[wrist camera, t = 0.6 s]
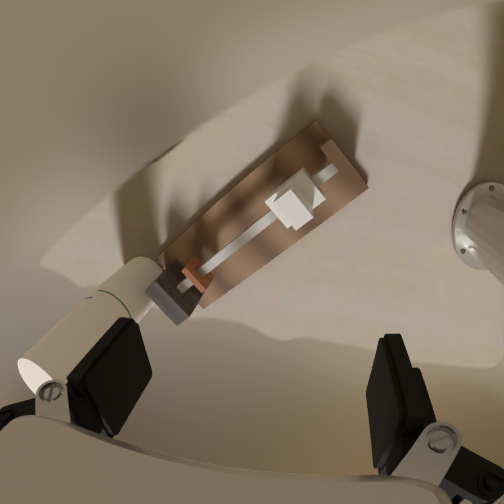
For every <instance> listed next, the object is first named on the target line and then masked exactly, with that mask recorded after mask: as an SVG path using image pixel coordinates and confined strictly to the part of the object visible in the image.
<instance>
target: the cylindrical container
mask: <svg viewBox="0 0 504 504" xmlns="http://www.w3.org/2000/svg"><path fill="white" fill-rule="evenodd" d="M162 272H163V271H162V269H161V268H160V267H159V265H158V264H157V263H155V262H154V261H153V260H151V259H149V258H146V257H135V258H133V259H132V260H130V261H129V262H128V263H127V264H125V265H124V266H123V267H122V268H120V269H119V270H118V271H117V272H116V273H114V274H113V275H112V276H111V277H110V278H108V279H107V280H106V281H105V282H104V283H102V284H101V285H100V286H99V287H98V288H97V289H95V291H93V292H92V293H91V294H90V295H89V296H87V297H86V298H85V299H84V300H83V301H82V302H81V303H80V304H78V305H77V306H76V307H75V308H74V309H73V310H72V311H70V312H69V313H68V314H67V315H66V316H65V317H64V318H62V320H60V321H59V322H58V323H57V324H56V325H55V326H54V327H53V328H52V329H50V330H49V331H48V332H47V333H46V334H45V335H44V336H43V337H42V338H41V339H40V340H39V341H38V342H37V343H36V344H34V346H33V347H31V348H30V349H29V350H28V351H27V352H26V353H25V354H24V355H23V356H22V357H21V358H20V359H19V360H18V368H19V371H20V374H21V376H22V378H23V379H24V381H25V383H26V384H27V385H28V386H29V388H30V389H31V390H32V391H33V392H34V394H35V395H36V391H37V389H38V388H39V387H40V386H41V385H42V384H43V383H44V382H46V381H49V380H54V379H57V380H61V381H63V382H64V383H65V384H66V383H67V382H68V380H67V378H66V377H67V376H68V375H69V374H70V372H71V371H72V370H73V369H74V368H75V367H76V365H77V364H78V363H79V362H80V361H81V360H82V359H83V357H84V356H85V355H86V354H87V353H88V352H89V351H90V349H91V348H92V347H93V346H94V345H95V344H96V343H97V341H98V340H99V339H100V338H101V337H102V336H103V335H104V334H105V332H106V331H107V330H108V329H109V328H110V327H111V326H112V325H113V324H114V323H115V321H116V320H117V319H118V318H119V317H126V318H132V319H134V320H135V322H136V323H138V322H139V321H140V320H141V319H142V317H143V316H144V315H145V314H146V312H147V311H148V310H149V309H150V308H151V307H152V305H153V304H154V302H153V300H152V299H151V298H150V297H149V296H148V295H147V294H146V293H145V292H144V291H145V290H146V289H147V288H148V287H149V286H150V285H151V283H152V282H153V281H154V280H155V279H156V278H157V277H158V276H159V275H160V274H161V273H162Z"/></svg>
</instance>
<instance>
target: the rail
mask: <svg viewBox="0 0 504 504" xmlns="http://www.w3.org/2000/svg"><path fill="white" fill-rule="evenodd" d="M303 167H304V168H305V170H306V171H307V172H308V173H309V174H310V176H311V178H310V179H311V180H312V182H313V183H314V184H315V185H316V186H317V188H318V187H320V188H321V189H322V191H323V192H324V194H325V198H326V200H324V201H323V202H322V203H320V204H319V205H318V206H316V207H315V208H314V209H313V218H312V219H311V220H310V221H308V222H307V223H306V224H304V225H303V226H302V227H300V228H299V229H298V230H295V229H294V228H293V227H292V225H291V226H290V227H289V228H286V227H285V225H284V224H283V223H282V222H281V221H280V220H279V218H278V217H277V216H276V215H275V214H274V212H273V211H272V210H271V209H270V208H269V207H268V205H267V204H266V203H265V200H266V199H267V197H268V195H269V194H270V193H272V192H273V191H274V190H275V189H277V188H278V187H279V186H280V185H282V184H283V183H284V182H285V181H287V180H288V179H289V178H290V177H292V176H293V175H294V174H295V173H297V172H298V171H299V170H300V169H302V168H303ZM368 188H369V187H368V186H367V184H366V183H365V182H364V180H363V179H362V178H361V176H360V175H359V174H358V172H357V171H356V170H355V168H354V167H353V166H352V164H351V163H350V162H349V160H348V159H347V158H346V157H345V155H344V154H343V153H342V151H341V150H340V149H339V148H338V146H337V145H336V144H335V143H334V141H333V140H332V139H331V138H330V136H329V135H328V134H327V133H326V132H325V130H324V129H323V128H322V127H321V126H320V124H319V123H318V122H317V121H316V120H315V121H314V122H312V123H311V124H310V125H309V126H307V127H306V128H305V129H304V130H302V131H301V132H300V133H299V134H297V135H296V136H295V137H294V138H292V139H291V140H290V141H289V142H287V143H286V144H285V145H284V146H282V147H281V148H280V149H279V150H278V151H276V152H275V153H274V154H273V155H272V156H270V157H269V158H268V159H267V160H266V161H264V162H263V163H262V164H261V165H260V166H258V167H257V168H256V169H255V170H254V171H252V172H251V173H250V174H249V175H248V176H247V177H245V178H244V179H243V180H242V181H241V182H240V183H238V184H237V185H236V186H235V187H234V188H233V189H232V190H230V191H229V192H228V193H227V194H226V195H225V196H224V197H222V198H221V199H220V200H219V201H218V202H217V203H216V204H214V205H213V206H212V207H211V208H210V209H209V210H208V211H207V212H206V213H204V214H203V215H202V216H201V217H200V218H199V219H198V220H197V221H196V222H195V223H193V224H192V225H191V226H190V227H189V228H188V229H187V230H186V231H185V232H184V233H183V234H181V235H180V236H179V237H178V238H177V239H176V240H175V241H174V242H173V243H172V244H171V245H170V246H169V247H168V248H166V249H165V250H164V251H163V252H162V253H161V254H160V255H159V256H158V257H157V258H156V259H157V260H158V261H159V262H160V263H161V264H162V265H163V266H164V267H165V270H164V271H163V272H162V273H161V274H160V275H159V276H158V277H157V278H156V279H155V280H154V281H153V282H152V283H151V285H150V286H149V287H148V288H147V289H146V290H145V291H144V292H145V293H146V294H147V295H148V296H149V297H150V298H151V299H152V300H153V302H154V303H155V304H156V305H157V306H158V307H159V308H160V309H161V310H162V311H163V312H164V313H165V314H166V315H167V316H168V317H169V318H170V319H171V320H172V321H173V322H174V323H175V324H176V325H179V324H180V323H181V322H183V321H184V320H186V319H187V318H189V317H190V315H191V313H192V312H193V310H194V309H195V307H196V305H197V304H199V305H200V306H201V307H202V308H203V309H204V308H206V307H207V306H209V305H210V304H211V303H213V302H214V301H216V300H217V299H218V298H220V297H221V296H223V295H224V294H225V293H227V292H228V291H229V290H231V289H232V288H234V287H235V286H236V285H238V284H239V283H241V282H242V281H243V280H245V279H246V278H247V277H249V276H250V275H252V274H253V273H254V272H256V271H257V270H259V269H260V268H261V267H263V266H264V265H265V264H267V263H268V262H270V261H271V260H272V259H274V258H275V257H276V256H278V255H279V254H280V253H282V252H283V251H285V250H286V249H287V248H289V247H290V246H291V245H293V244H294V243H295V242H297V241H298V240H300V239H301V238H302V237H304V236H305V235H306V234H308V233H309V232H310V231H312V230H313V229H314V228H316V227H317V226H318V225H320V224H321V223H323V222H324V221H325V220H327V219H328V218H329V217H331V216H332V215H333V214H335V213H336V212H337V211H339V210H340V209H341V208H343V207H344V206H345V205H347V204H348V203H349V202H351V201H352V200H353V199H355V198H356V197H357V196H359V195H360V194H361V193H363V192H364V191H365V190H367V189H368Z"/></svg>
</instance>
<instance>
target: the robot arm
mask: <svg viewBox="0 0 504 504" xmlns="http://www.w3.org/2000/svg"><path fill="white" fill-rule="evenodd" d="M462 209H463V210H462ZM452 239H453V244H454V248H455V250H456V252H457V254H458V256H459V257H460V258H461V260H462V261H463V262H464V263H465V264H467V265H468V266H469V267H471V268H474V269H476V270H489V271H490V272H491V273H492V274H493V275H494V276H495V277H496V278H497V279H498V280H499V281H500V282H501V283H502V284H503V285H504V185H503V184H500V183H497V182H494V181H486V182H482V183H479V184H477V185H476V186H474V187H472V188H471V189H470V190H469V191H468V192H467V193H466V194H465V195H464V197H463V198H462V199H461V201H460V203H459V204H458V207H457V209H456V212H455V215H454V219H453V224H452ZM151 377H152V369H151V366H150V363H149V360H148V356H147V353H146V350H145V346H144V343H143V339H142V336H141V332H140V329H139V325H138V323H136V322H135V320H134V319H132V318H126V317H119V318H118V319H117V320H116V321H115V323H114V324H113V325H112V326H111V327H110V328H109V329H108V330H107V331H106V332H105V334H104V335H103V336H102V337H101V338H100V339H99V340H98V341H97V343H96V344H95V345H94V346H93V347H92V348H91V349H90V351H89V352H88V353H87V354H86V355H85V356H84V357H83V359H82V360H81V361H80V362H79V363H78V364H77V365H76V367H75V368H74V369H73V370H72V371H71V372H70V374H69V375H68V376H67V377H66V378H67V380H68V382H67V383H66V384H65V383H64V382H63V381H61V380H57V379H54V380H49V381H46V382H44V383H43V384H42V385H41V386H40V387H39V388H38V389H37V391H36V398H33V399H30V400H26V401H22V402H19V403H15V404H11V405H7V406H5V407H3V408H1V409H0V504H504V469H502V468H501V467H500V466H498V465H496V464H494V463H492V462H490V461H488V460H486V459H484V458H483V457H481V456H479V455H477V454H475V453H474V452H471V451H470V450H468V449H466V448H464V447H463V446H461V443H462V436H461V434H460V431H459V430H458V429H457V428H456V427H455V426H453V425H452V424H449V423H447V422H437V421H436V418H435V414H434V411H433V407H432V404H431V401H430V398H429V395H428V391H427V389H426V385H425V382H424V380H423V377H422V373H421V371H420V369H419V368H412V365H411V362H410V359H409V356H408V353H407V350H406V348H405V345H404V342H403V339H402V336H401V334H385V336H384V338H380V339H379V342H378V346H377V350H376V355H375V359H374V363H373V367H372V371H371V374H370V378H369V382H368V386H367V390H366V399H367V408H368V416H369V425H370V434H371V445H372V457H373V466H374V468H378V472H379V475H306V474H288V473H275V472H274V473H273V472H264V471H254V470H247V469H239V468H231V467H225V466H220V465H213V464H208V463H203V462H198V461H193V460H188V459H184V458H179V457H175V456H171V455H167V454H163V453H159V452H155V451H151V450H148V449H145V448H141V447H138V446H134V445H131V444H128V443H125V442H122V441H118V440H116V439H113V437H114V435H117V434H118V433H119V432H120V430H121V428H122V426H123V425H124V423H125V421H126V420H127V418H128V416H129V414H130V413H131V411H132V409H133V408H134V406H135V404H136V403H137V401H138V399H139V398H140V396H141V394H142V393H143V391H144V389H145V388H146V386H147V384H148V383H149V381H150V379H151Z"/></svg>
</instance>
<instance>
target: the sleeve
mask: <svg viewBox="0 0 504 504" xmlns="http://www.w3.org/2000/svg"><path fill="white" fill-rule="evenodd" d="M310 178H311V176H310V174H309V173H308V172H307V171H306V170H305V168H304V167H303V168H302V169H300V170H299V171H298V172H297V173H295V174H294V175H293V176H292V177H290V178H289V179H288V180H287V181H285V182H284V183H283V184H282V185H280V186H279V187H278V188H277V189H275V190H274V191H273V192H272V193H270V194H269V195H268V197H267V199H266V200H265V203H266V204H267V205H268V207H269V208H270V209H271V210H272V211H273V212H274V214H275V215H276V216H277V217H278V218H279V220H280V221H281V222H282V223H283V224H284V225H285V227H286V228H289V227H290V226H291V225H292V227H293V228H294V229H295V230H298V229H299V228H300V227H302V226H303V225H304V224H306V223H307V222H308V221H310V220H311V219H312V218H313V209H314V208H315V207H316V206H318V205H319V204H320V203H322V202H323V201H324V200H326V198H325V194H324V192H323V191H322V189H321V188H320V187H318V188H317V186H316V185H315V184H314V183H313V182H312V180H311V179H310Z"/></svg>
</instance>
